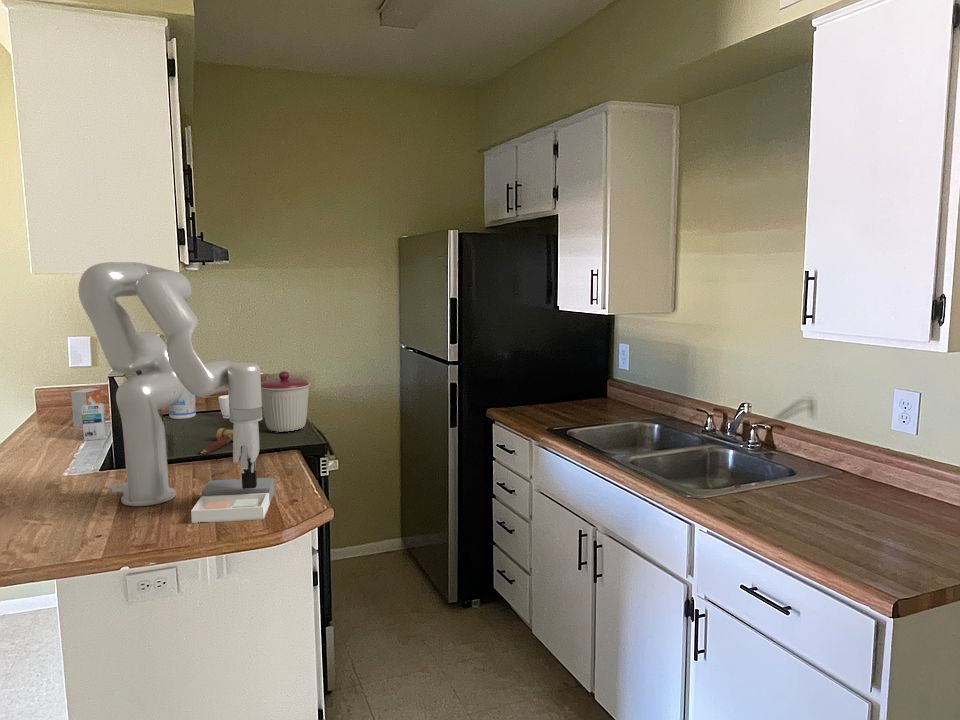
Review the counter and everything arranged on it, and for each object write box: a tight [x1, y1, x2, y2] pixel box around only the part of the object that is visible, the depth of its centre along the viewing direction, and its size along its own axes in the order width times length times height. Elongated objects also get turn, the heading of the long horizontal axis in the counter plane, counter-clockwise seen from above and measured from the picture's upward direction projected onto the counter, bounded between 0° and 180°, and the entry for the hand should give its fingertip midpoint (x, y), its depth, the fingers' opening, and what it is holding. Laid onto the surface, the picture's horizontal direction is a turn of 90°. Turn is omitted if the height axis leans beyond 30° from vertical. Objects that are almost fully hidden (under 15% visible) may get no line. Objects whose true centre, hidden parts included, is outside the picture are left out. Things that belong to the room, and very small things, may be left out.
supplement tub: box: [168, 385, 197, 420], centre depth 277 cm, size 10×10×15 cm
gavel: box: [200, 427, 233, 453], centre depth 233 cm, size 21×5×10 cm
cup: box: [217, 394, 230, 419], centre depth 277 cm, size 7×10×8 cm
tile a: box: [204, 501, 230, 509], centre depth 170 cm, size 5×5×2 cm
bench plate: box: [201, 476, 276, 504], centre depth 182 cm, size 16×9×4 cm, turn 99°
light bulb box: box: [81, 402, 107, 442], centre depth 247 cm, size 11×7×11 cm, turn 26°
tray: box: [190, 493, 271, 524], centre depth 172 cm, size 16×10×3 cm, turn 99°
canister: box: [261, 370, 311, 433], centre depth 255 cm, size 18×18×21 cm
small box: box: [70, 387, 103, 428], centre depth 265 cm, size 8×6×13 cm
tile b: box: [232, 499, 258, 508], centre depth 171 cm, size 5×5×2 cm
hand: (249, 487), depth 176 cm, fingers closed
